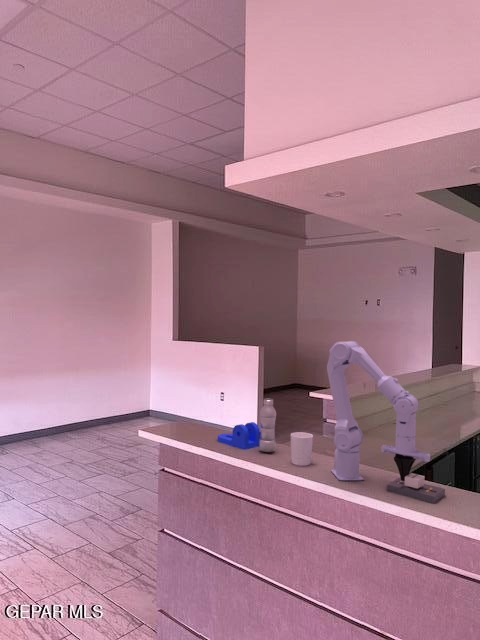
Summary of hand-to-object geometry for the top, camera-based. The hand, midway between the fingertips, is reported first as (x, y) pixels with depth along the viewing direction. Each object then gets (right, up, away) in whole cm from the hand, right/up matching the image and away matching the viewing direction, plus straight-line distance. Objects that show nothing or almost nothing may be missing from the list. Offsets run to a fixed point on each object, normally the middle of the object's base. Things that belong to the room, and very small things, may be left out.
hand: (404, 480), depth 149 cm
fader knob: (+2, -1, -2) cm, 3 cm away
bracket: (-51, -2, +49) cm, 71 cm away
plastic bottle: (-40, -2, +38) cm, 55 cm away
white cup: (-28, -2, +25) cm, 38 cm away
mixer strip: (+3, -3, -2) cm, 5 cm away
